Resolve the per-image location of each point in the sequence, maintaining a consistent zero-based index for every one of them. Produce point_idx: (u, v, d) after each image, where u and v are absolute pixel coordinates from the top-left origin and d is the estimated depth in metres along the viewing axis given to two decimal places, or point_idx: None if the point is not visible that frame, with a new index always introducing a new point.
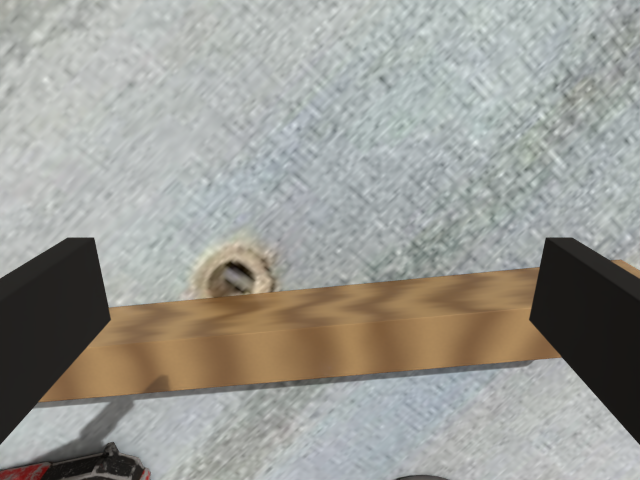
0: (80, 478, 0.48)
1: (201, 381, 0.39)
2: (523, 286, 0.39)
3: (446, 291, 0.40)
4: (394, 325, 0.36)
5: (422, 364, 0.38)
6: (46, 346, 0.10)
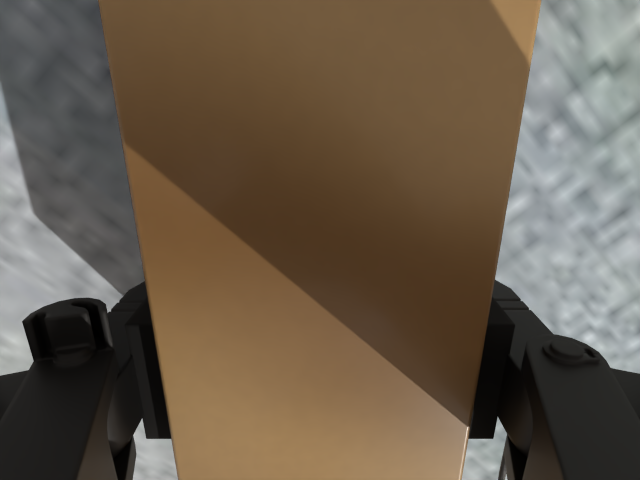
0: None
1: None
2: None
3: None
4: None
5: None
6: None
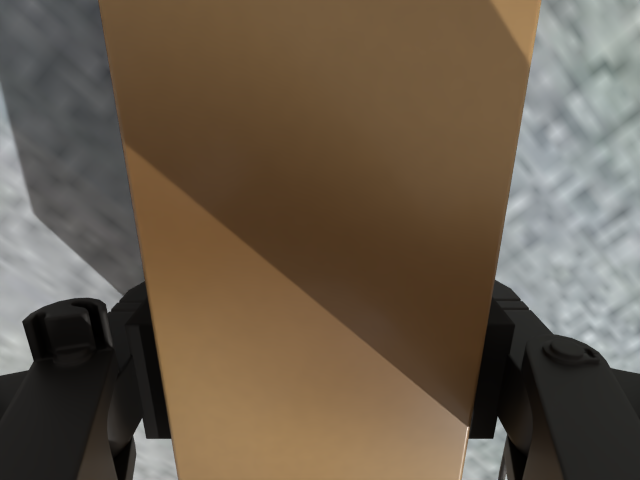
0: None
1: None
2: None
3: None
4: None
5: None
6: None
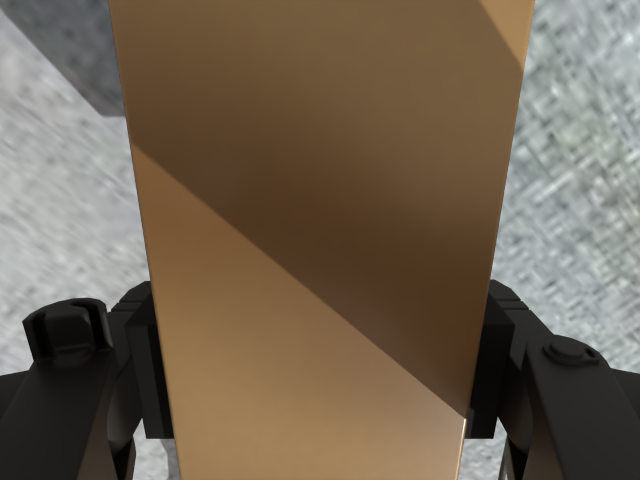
0: None
1: None
2: None
3: None
4: None
5: None
6: None
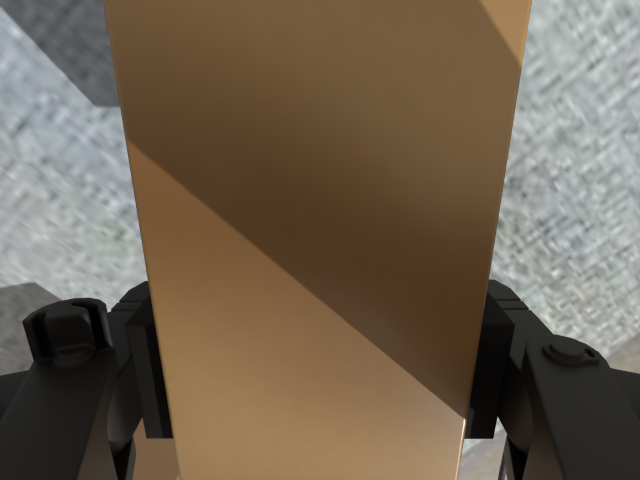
0: None
1: None
2: None
3: None
4: None
5: None
6: None
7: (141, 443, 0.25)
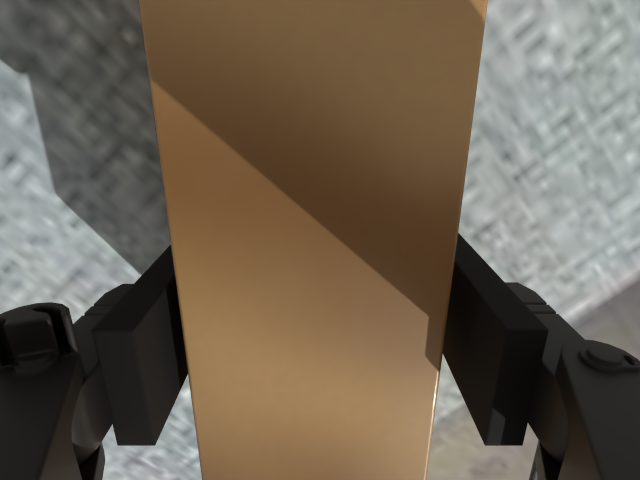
0: None
1: None
2: None
3: None
4: None
5: None
6: None
7: None
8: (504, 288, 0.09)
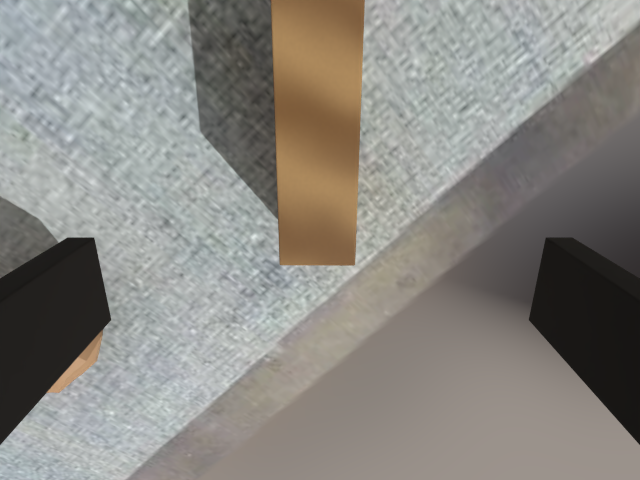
0: None
1: None
2: None
3: None
4: None
5: None
6: (46, 346, 0.10)
7: None
8: None
